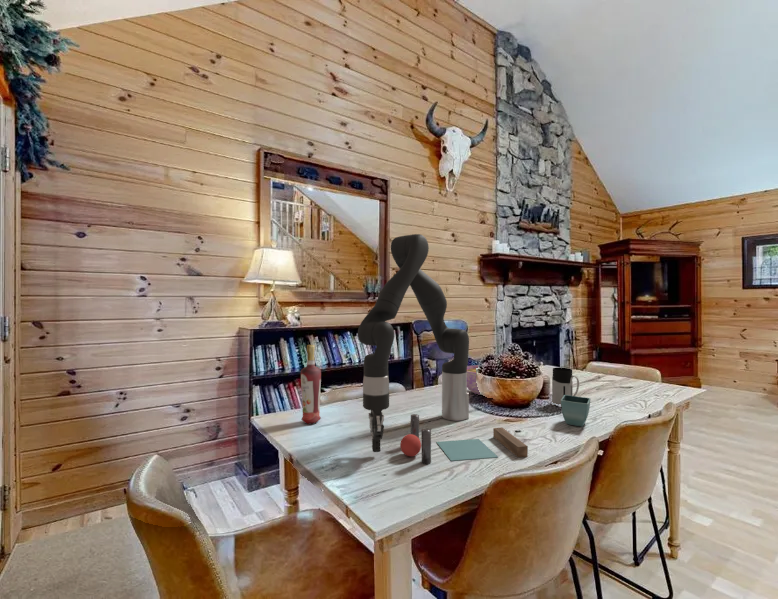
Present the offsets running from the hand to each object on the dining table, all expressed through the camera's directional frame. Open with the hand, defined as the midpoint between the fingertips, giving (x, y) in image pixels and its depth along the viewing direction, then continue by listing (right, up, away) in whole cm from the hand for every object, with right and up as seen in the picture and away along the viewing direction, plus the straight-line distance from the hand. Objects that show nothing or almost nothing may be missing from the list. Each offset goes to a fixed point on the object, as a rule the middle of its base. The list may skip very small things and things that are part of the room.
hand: (376, 451), depth 113 cm
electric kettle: (+77, -1, +49) cm, 91 cm away
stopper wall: (+40, -1, +7) cm, 41 cm away
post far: (+12, -1, +9) cm, 15 cm away
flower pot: (+70, -1, +28) cm, 76 cm away
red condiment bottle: (-25, -1, +30) cm, 39 cm away
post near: (+14, -2, -4) cm, 15 cm away
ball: (+10, +1, 0) cm, 10 cm away
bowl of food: (+48, -1, +69) cm, 84 cm away
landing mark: (+27, -1, +5) cm, 27 cm away
